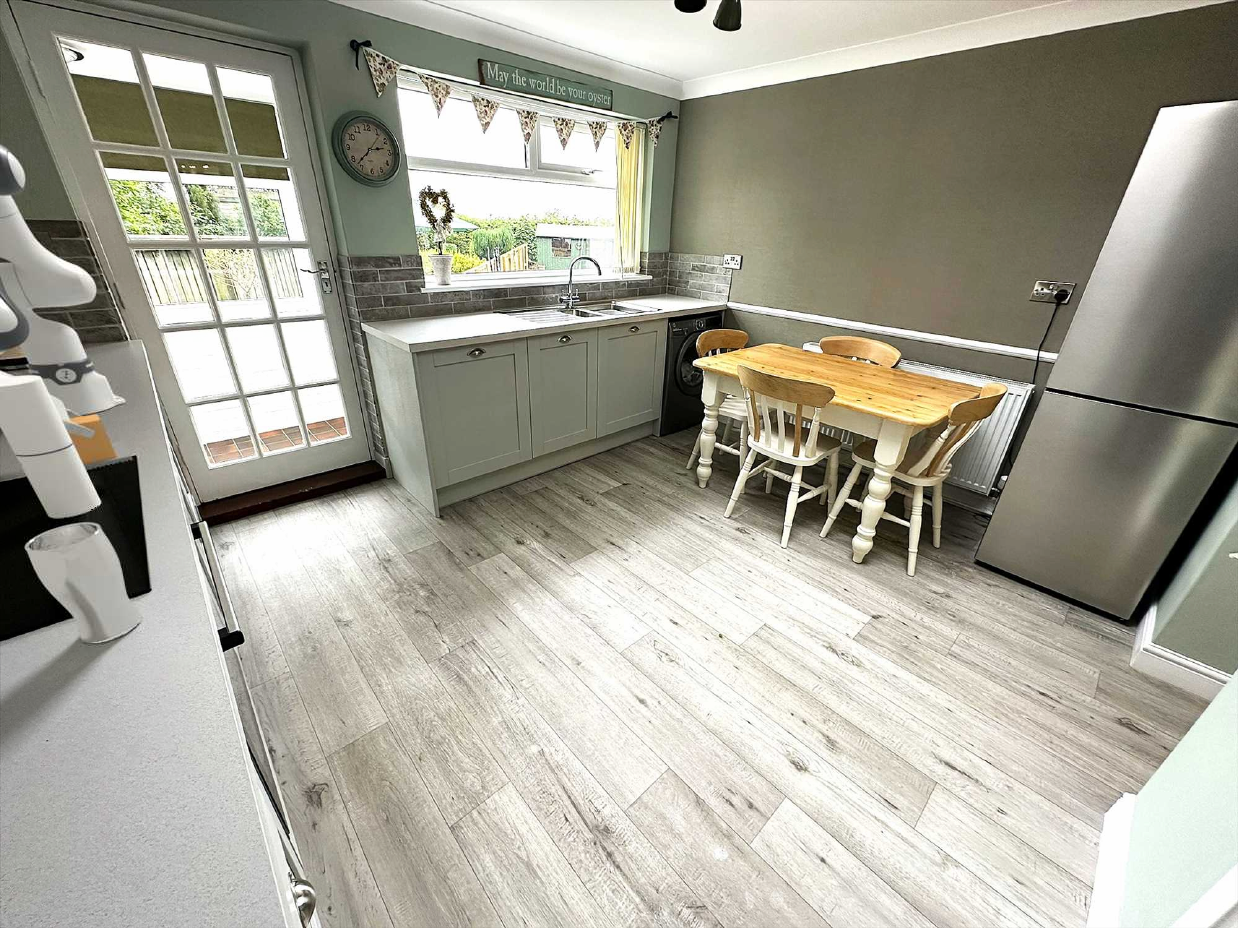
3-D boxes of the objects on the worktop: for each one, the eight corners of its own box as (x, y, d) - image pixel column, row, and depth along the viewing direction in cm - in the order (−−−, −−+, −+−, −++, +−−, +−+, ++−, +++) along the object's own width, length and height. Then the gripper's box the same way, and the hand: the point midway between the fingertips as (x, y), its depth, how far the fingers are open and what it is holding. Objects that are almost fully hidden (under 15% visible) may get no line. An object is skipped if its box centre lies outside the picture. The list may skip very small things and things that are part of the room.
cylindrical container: (67, 520, 91) (-2, 388, 80) (37, 515, 92) (-35, 385, 81) (111, 501, 97) (52, 377, 86) (82, 497, 98) (20, 374, 87)
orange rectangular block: (80, 457, 112) (62, 419, 108) (113, 450, 116) (96, 413, 112) (83, 464, 109) (65, 426, 105) (116, 457, 112) (100, 419, 109)
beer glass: (76, 626, 68) (23, 534, 61) (144, 603, 72) (101, 515, 66) (77, 655, 63) (19, 560, 57) (149, 628, 68) (103, 537, 61)
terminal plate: (65, 457, 114) (63, 453, 113) (124, 445, 121) (122, 441, 120) (71, 473, 107) (69, 469, 106) (133, 459, 114) (131, 455, 113)
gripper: (14, 394, 93) (106, 429, 104) (10, 372, 105) (93, 406, 116) (-10, 422, 92) (86, 454, 103) (-12, 397, 104) (75, 428, 115)
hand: (90, 428), depth 110 cm, fingers open, 8 cm apart
